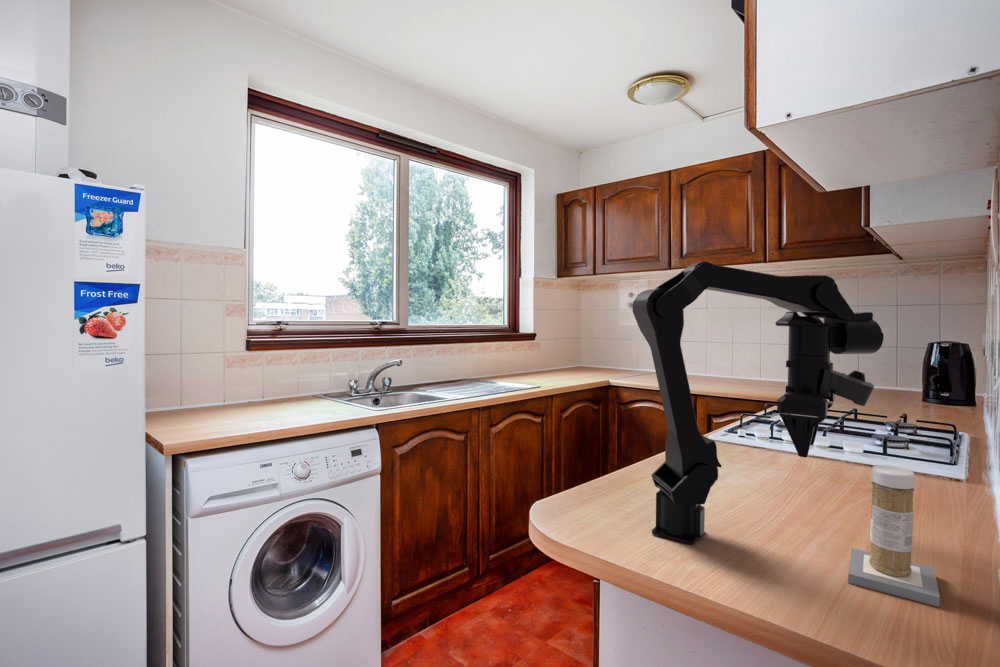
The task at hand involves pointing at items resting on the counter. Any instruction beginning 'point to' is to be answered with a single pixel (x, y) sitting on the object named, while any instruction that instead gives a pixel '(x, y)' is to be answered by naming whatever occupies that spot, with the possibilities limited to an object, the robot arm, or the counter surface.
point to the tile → (895, 579)
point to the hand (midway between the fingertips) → (806, 450)
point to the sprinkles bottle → (891, 519)
